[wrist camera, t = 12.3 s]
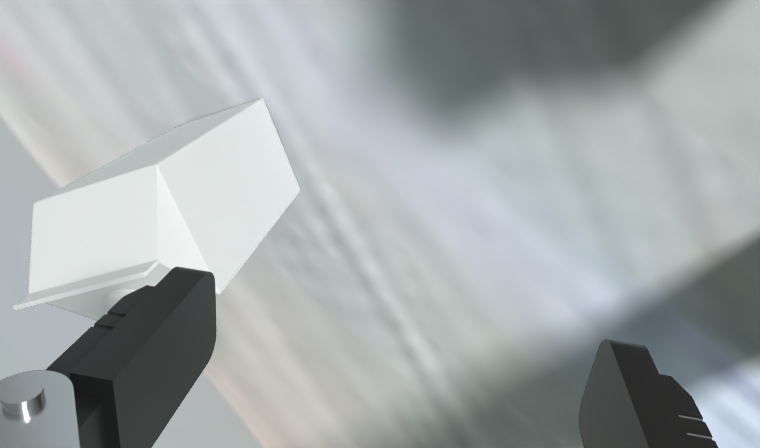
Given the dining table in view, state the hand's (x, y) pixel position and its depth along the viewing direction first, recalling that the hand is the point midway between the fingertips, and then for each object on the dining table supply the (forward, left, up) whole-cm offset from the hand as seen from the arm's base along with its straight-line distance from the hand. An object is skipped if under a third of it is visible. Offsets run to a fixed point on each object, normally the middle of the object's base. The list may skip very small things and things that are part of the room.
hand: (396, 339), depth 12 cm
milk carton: (+14, +7, -28) cm, 32 cm away
